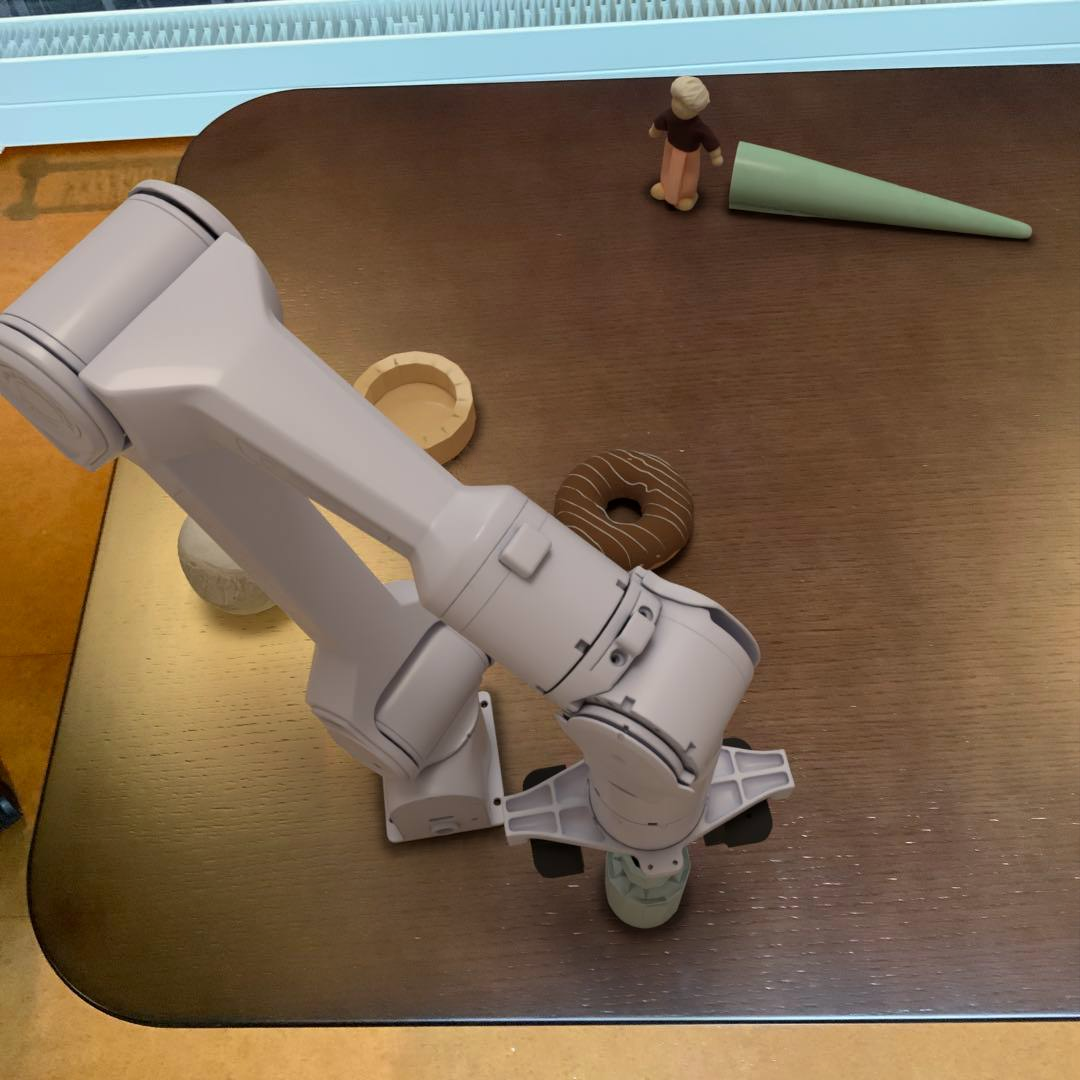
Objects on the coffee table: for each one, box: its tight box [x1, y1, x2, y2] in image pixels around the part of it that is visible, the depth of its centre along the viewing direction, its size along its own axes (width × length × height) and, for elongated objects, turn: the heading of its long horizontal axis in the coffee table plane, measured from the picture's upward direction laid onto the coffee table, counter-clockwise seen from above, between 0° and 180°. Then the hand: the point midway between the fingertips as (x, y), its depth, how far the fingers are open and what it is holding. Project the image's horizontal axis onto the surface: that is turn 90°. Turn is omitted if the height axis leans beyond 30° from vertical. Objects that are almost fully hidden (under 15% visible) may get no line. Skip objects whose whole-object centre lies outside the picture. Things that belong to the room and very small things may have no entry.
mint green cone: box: [728, 140, 1033, 240], centre depth 94 cm, size 5×6×27 cm
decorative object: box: [176, 514, 277, 616], centre depth 76 cm, size 9×9×10 cm
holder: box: [352, 350, 477, 466], centre depth 86 cm, size 10×10×3 cm
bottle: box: [604, 845, 692, 929], centre depth 63 cm, size 5×5×10 cm
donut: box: [553, 448, 695, 572], centre depth 79 cm, size 11×11×4 cm
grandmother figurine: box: [648, 75, 724, 212], centre depth 93 cm, size 8×4×13 cm, turn 62°
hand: (641, 839), depth 60 cm, fingers open, 7 cm apart
